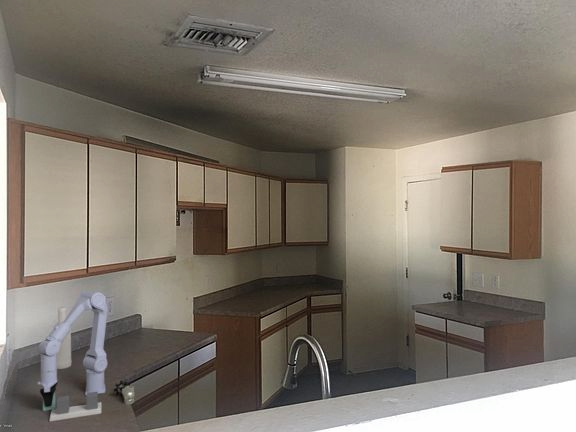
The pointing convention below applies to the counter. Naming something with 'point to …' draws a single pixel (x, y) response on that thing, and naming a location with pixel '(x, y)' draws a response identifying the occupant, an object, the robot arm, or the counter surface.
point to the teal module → (49, 406)
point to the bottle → (64, 344)
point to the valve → (125, 392)
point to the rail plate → (76, 408)
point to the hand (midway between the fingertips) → (49, 403)
